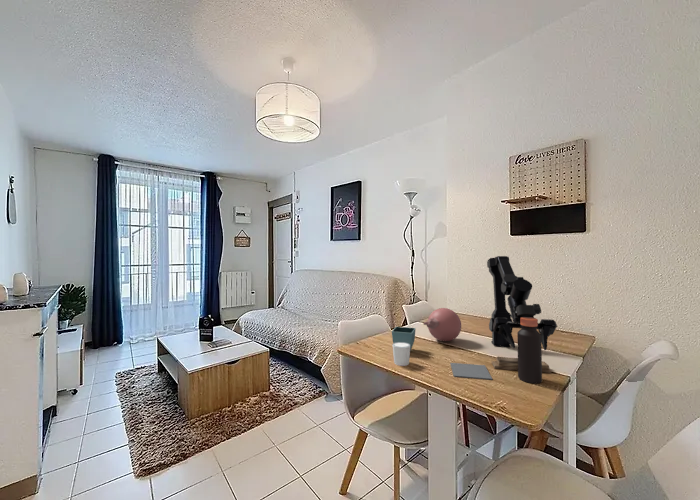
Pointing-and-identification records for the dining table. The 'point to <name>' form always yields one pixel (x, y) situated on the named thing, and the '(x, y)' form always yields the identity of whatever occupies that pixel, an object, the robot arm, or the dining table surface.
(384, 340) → the dining table surface
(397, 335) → the flower pot
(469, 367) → the grey mat
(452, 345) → the dining table surface
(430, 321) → the pink onion-shaped ball
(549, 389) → the dining table surface
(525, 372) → the dark water bottle
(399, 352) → the white cylinder
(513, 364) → the offcut stack
